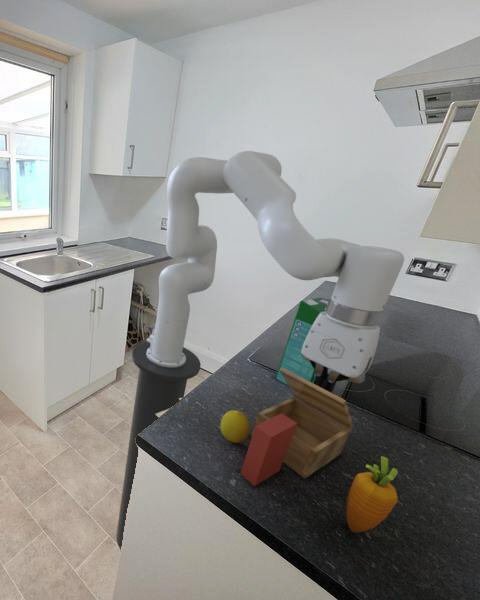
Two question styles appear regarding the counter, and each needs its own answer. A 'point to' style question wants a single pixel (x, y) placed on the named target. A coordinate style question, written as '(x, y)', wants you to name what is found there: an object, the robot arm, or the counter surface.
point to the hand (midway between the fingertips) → (320, 393)
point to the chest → (308, 436)
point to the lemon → (235, 426)
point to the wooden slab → (318, 398)
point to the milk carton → (301, 341)
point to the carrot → (371, 497)
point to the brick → (268, 448)
